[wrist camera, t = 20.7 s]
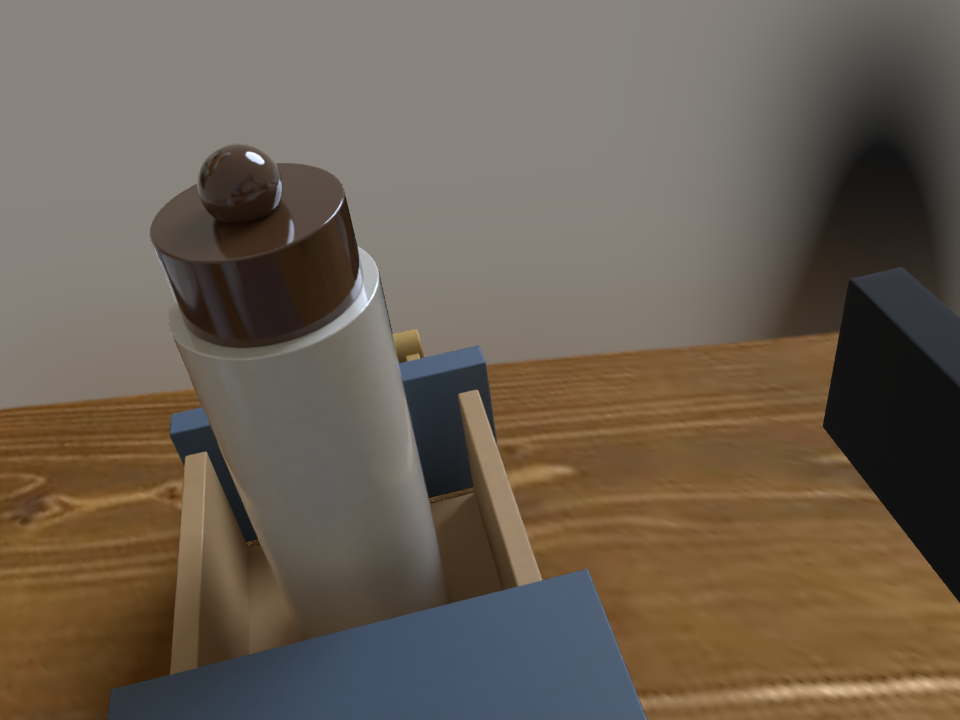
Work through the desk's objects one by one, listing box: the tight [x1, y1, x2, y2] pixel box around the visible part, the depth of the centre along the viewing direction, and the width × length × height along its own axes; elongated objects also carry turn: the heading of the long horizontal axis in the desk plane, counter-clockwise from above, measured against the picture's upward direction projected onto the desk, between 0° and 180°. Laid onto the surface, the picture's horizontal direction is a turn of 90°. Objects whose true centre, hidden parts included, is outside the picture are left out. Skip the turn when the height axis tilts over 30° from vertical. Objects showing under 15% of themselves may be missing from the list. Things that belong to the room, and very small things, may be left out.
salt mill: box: [150, 144, 451, 641], centre depth 26 cm, size 6×6×19 cm
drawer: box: [170, 329, 542, 675], centre depth 32 cm, size 20×12×7 cm, turn 12°
